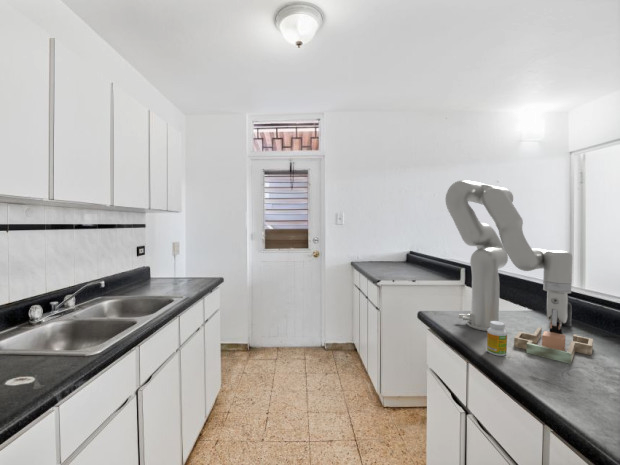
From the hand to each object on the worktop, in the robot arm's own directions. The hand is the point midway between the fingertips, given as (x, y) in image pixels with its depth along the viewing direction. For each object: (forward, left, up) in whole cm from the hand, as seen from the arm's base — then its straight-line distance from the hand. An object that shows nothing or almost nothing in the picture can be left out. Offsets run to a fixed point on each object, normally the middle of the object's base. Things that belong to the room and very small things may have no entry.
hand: (555, 339), depth 107 cm
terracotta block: (-2, -4, -2) cm, 5 cm away
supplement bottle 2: (+11, +24, -2) cm, 27 cm away
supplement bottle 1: (-21, -14, -2) cm, 25 cm away
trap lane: (-2, -4, -2) cm, 5 cm away
